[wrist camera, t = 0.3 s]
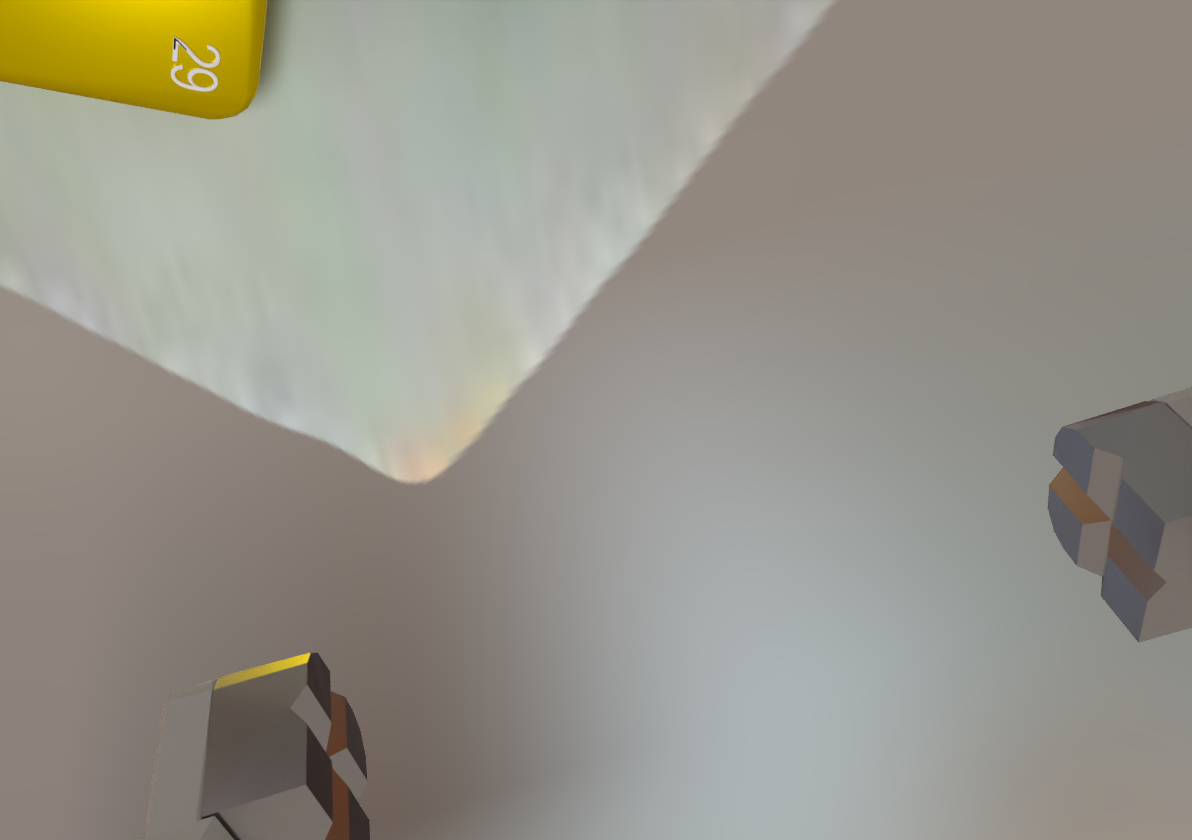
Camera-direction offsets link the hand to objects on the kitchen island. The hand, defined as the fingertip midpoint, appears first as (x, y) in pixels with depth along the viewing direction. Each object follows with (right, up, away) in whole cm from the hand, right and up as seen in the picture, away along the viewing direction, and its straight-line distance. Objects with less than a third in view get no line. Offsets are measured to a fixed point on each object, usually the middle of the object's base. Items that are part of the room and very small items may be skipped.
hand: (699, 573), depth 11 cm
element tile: (-23, +25, +36) cm, 50 cm away
